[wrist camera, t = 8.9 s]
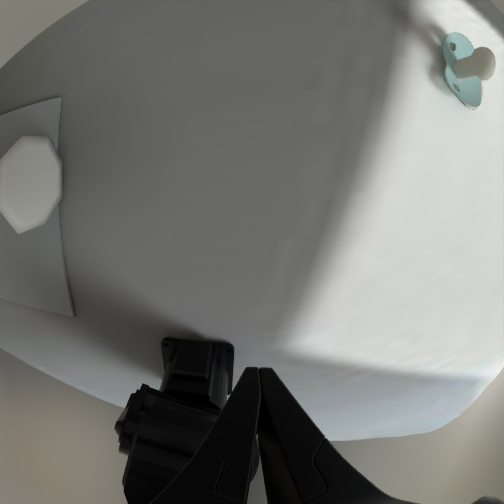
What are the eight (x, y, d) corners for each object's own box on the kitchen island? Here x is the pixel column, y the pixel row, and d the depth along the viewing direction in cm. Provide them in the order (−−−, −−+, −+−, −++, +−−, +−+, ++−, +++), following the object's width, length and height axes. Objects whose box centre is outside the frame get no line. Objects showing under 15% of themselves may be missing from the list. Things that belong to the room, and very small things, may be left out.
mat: (75, 315, 23) (73, 317, 22) (-2, 296, 22) (-4, 297, 22) (62, 97, 16) (59, 96, 16) (-18, 123, 15) (-21, 123, 15)
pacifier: (474, 56, 15) (432, 31, 14) (516, 48, 9) (475, 13, 8) (479, 120, 17) (437, 99, 17) (525, 122, 11) (488, 93, 11)
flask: (58, 120, 15) (2, 134, 17) (-15, 157, 10) (-52, 167, 11) (73, 201, 20) (17, 197, 21) (16, 252, 14) (-29, 235, 15)
